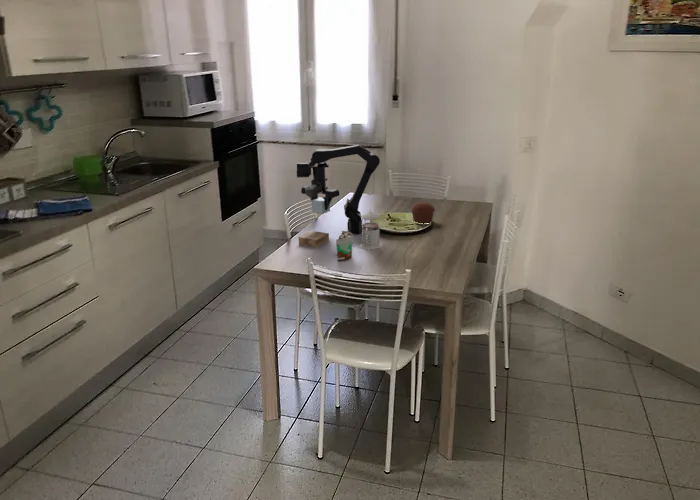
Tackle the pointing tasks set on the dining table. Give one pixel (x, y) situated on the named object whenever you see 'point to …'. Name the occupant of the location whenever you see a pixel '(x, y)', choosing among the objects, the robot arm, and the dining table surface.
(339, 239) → the food container
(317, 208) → the slate cube
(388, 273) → the dining table surface
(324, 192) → the robot arm
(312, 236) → the walnut block
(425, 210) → the muffin
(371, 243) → the french press
